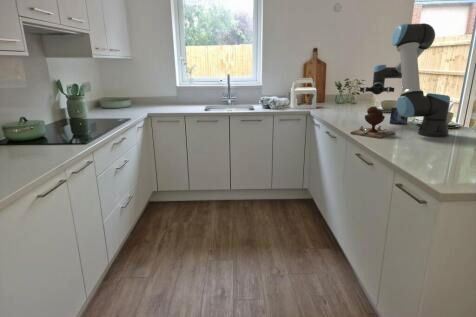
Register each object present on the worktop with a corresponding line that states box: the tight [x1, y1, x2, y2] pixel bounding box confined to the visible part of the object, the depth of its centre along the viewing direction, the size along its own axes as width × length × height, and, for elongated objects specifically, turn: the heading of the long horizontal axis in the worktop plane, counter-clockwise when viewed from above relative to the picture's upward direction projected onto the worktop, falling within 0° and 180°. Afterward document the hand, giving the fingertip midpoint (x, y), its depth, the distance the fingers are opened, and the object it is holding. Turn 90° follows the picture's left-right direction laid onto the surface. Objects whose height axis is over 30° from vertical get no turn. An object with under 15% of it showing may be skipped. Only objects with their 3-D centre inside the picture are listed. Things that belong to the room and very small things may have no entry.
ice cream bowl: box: [364, 106, 386, 133], centre depth 189 cm, size 11×11×15 cm
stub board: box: [350, 125, 396, 139], centre depth 191 cm, size 18×18×4 cm
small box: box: [389, 107, 409, 125], centre depth 218 cm, size 11×6×10 cm, turn 68°
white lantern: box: [289, 77, 318, 110], centre depth 303 cm, size 22×13×28 cm, turn 92°
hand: (376, 90), depth 198 cm, fingers open, 13 cm apart
